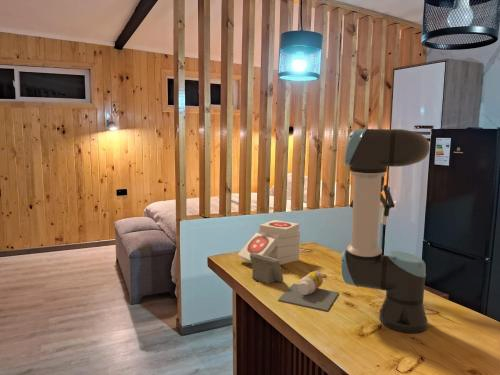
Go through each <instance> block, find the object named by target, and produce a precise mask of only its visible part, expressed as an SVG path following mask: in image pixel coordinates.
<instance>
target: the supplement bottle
mask: <svg viewBox="0 0 500 375" xmlns="http://www.w3.org/2000/svg"><path fill="white" fill-rule="evenodd" d="M323 278H324V277H323V276H322V275H321V273H319V272H318V271H313V270H312V271H311V272H309V273H308V274H306V275H305V276H303V277H302V278H301V279H300V280H299V282H298V284H299V285H298V291H299V292H300V293H301V294H302V295H306V294H311V293H313V292H314V291H315V290H316V289H317V288H320V287H321V286H322V284H323V282H324V279H323Z"/></svg>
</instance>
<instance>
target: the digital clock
mask: <svg viewBox="0 0 500 375" xmlns="http://www.w3.org/2000/svg"><path fill="white" fill-rule="evenodd" d="M250 259H251V263H250V264H251V267H252V271H251V272H252V276H251V277H252V280H256V281H258V282H261V283H264V284H267V285H269V284H271V283H273V282H279V283H281V282H283V281H284V274H283V271H282V266H281V264H280V262H279V260H277V259H274V258H271V257H267V256H263V255H260V254H256V253H251V254H250Z"/></svg>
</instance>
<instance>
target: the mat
mask: <svg viewBox="0 0 500 375" xmlns="http://www.w3.org/2000/svg"><path fill="white" fill-rule="evenodd" d="M298 285H299V283H298V284H297V283H293V284H292V285H291V286H290V287H288V289H286V290H285V292H284V293H283V294H281V296H280V297H279V298H278V299H277V301H278V302H283V303H286V304H291V305H296V306H301V307H305V308H311V309H315V310H319V311H324V312H328V311H329V309H330V308H331V306H333V303H334V302H335V300H336V299H337V297H338V295H339V294H340V292H339V291H335V290H328V289H325V288H320V287H319V288H317V289H316V290H315V291H314V292H313V293H311V294H306V295H302V294H301V293H300V292H299V291H298Z"/></svg>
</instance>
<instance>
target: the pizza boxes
mask: <svg viewBox="0 0 500 375" xmlns="http://www.w3.org/2000/svg"><path fill="white" fill-rule="evenodd" d="M300 238H301V231H300V223H298V222H297V223H296V222H290V221H283V220H276V219H272V220H270V221H267V222H264V223H261V224H259V228H258V232H256V233H254V234H253V236H252V237H251V238H250V239H249V240H248V242H247V243H246V244H245V245H244V246H243V247H242V248H241V250H240V251H239V252H238V253H237V256H238V257H239V258H240V259H241V260H243V261H246V262H248V263H250V264H252V263H251V259H250V254H251V253H256V254H260V255H263V256H267V257H271V258H274V259H277V260H279V262H280V265H284V264H287V263H293V262H297V261H299V260H300V246H301V244H300V243H301V242H300V241H301V239H300Z"/></svg>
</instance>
